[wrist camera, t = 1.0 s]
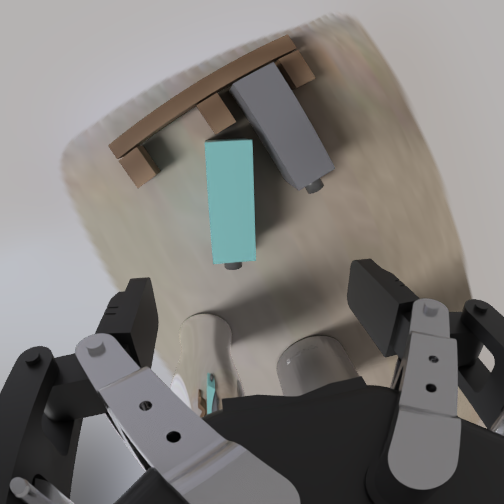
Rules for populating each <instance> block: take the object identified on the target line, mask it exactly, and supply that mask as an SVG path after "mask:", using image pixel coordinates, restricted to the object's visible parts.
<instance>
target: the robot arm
mask: <svg viewBox="0 0 504 504" xmlns="http://www.w3.org/2000/svg"><path fill="white" fill-rule="evenodd" d="M347 300H348V305H349V307H350V309H351V310H352V312H353V313H354V315H355V316H356V317H357V319H358V320H359V321H360V323H361V324H362V326H363V327H364V328H365V330H366V331H367V333H368V334H369V335H370V337H371V338H372V340H373V341H374V342H375V344H376V345H377V347H378V348H379V349H380V351H381V352H382V354H383V355H384V357H389V356H393V355H398V359H397V362H396V366H395V370H394V374H393V379H392V383H391V387H390V388H388V387H383V386H374V385H366V383H365V381H364V380H363V378H362V376H359V375H358V373H357V371H356V369H355V367H354V366H353V364H352V362H351V360H350V359H349V357H348V355H347V353H346V352H345V350H344V348H343V346H342V345H341V343H340V342H339V341H337V340H336V339H334V338H332V337H328V336H313V337H309V338H305V339H303V340H300V341H298V342H296V343H295V344H293V345H292V346H290V347H289V348H288V349H287V350H286V351H285V352H284V353H283V354H282V356H281V357H280V359H279V361H278V364H277V374H278V378H279V381H280V384H281V388H282V391H283V395H284V396H271V395H252V396H243V397H233V398H222V408H223V409H221V410H217V411H215V412H212V413H210V414H207V415H205V416H203V417H202V418H200V417H199V416H198V415H197V414H196V413H195V412H194V411H193V410H191V409H190V408H189V407H188V406H187V405H186V404H185V403H184V402H183V401H182V400H181V399H180V398H179V397H178V396H177V395H176V394H175V393H174V392H173V391H172V390H171V389H170V388H169V387H167V385H166V384H165V383H164V382H163V381H162V380H161V379H160V378H159V377H158V376H157V375H156V374H155V373H154V372H153V371H152V370H151V366H152V360H153V354H154V348H155V342H156V337H157V331H158V313H157V308H156V303H155V298H154V293H153V288H152V283H151V280H150V278H149V277H148V278H134V279H130V281H129V283H128V286H127V288H126V290H125V292H118V293H117V294H116V295H115V296H114V297H113V298H111V300H110V302H109V304H108V306H107V309H106V310H105V313H104V315H103V317H102V319H101V321H100V324H99V326H98V328H97V331H96V333H95V334H94V335H90V336H88V337H86V338H84V339H83V340H81V341H80V342H79V343H78V345H77V346H76V349H75V353H74V354H71V355H66V356H61V357H57V358H54V356H53V354H52V352H51V350H50V349H49V348H47V347H43V346H37V347H33V348H30V349H28V350H26V351H24V352H23V353H22V354H21V355H20V356H19V357H18V359H17V361H16V363H15V364H14V367H13V368H12V370H11V372H10V374H9V377H8V378H7V380H6V382H5V385H4V387H3V389H2V391H1V393H0V504H74V503H73V502H72V501H70V492H71V483H72V477H73V470H74V464H75V457H76V452H77V446H78V441H79V435H80V430H81V426H82V421H83V418H84V417H89V416H94V415H98V414H103V413H104V414H105V415H106V417H107V418H108V420H109V421H110V423H111V424H112V426H113V427H114V429H115V430H116V432H117V433H118V434H119V436H120V437H121V439H122V440H123V442H124V443H125V444H126V445H127V447H128V448H129V450H130V451H131V453H132V454H133V456H134V457H135V458H136V460H137V461H138V463H139V464H140V465H141V467H142V468H143V469H144V471H145V473H144V474H143V475H142V476H141V477H140V478H139V479H138V480H137V481H136V482H135V483H134V484H133V485H132V486H131V488H129V489H128V490H127V491H126V492H125V493H124V494H123V495H122V496H121V497H120V498H119V499H118V500H117V501H116V502H115V503H114V504H504V317H503V316H502V315H501V314H500V313H499V312H498V311H497V310H495V309H494V308H493V307H492V306H491V305H489V304H488V303H486V302H484V301H481V300H476V299H472V300H468V301H466V303H465V305H464V308H463V311H462V312H449V311H448V309H447V307H446V306H445V305H444V304H442V303H441V302H439V301H437V300H433V299H428V298H423V299H420V298H419V297H418V296H416V295H415V294H414V293H413V292H412V291H411V290H410V289H409V288H408V287H407V286H405V284H403V283H402V282H401V281H399V279H398V278H397V277H396V276H395V275H393V274H392V273H390V272H388V271H386V270H384V269H382V268H381V267H380V266H378V265H377V264H376V263H375V262H374V261H373V260H372V259H361V260H354V261H352V263H351V268H350V276H349V285H348V292H347ZM483 345H485V346H486V348H487V349H488V350H489V351H490V352H491V353H492V354H493V356H494V359H495V366H494V368H493V370H492V372H490V371H489V370H488V369H487V368H486V366H485V365H484V364H483V363H482V362H481V360H480V359H479V358H478V356H479V354H480V352H481V350H482V347H483ZM458 386H459V388H460V389H461V391H462V392H463V393H464V395H465V396H466V398H467V399H468V401H469V402H470V403H471V405H472V406H473V408H474V409H475V411H476V412H477V414H478V415H479V417H480V418H481V420H482V421H483V423H484V424H485V426H486V427H487V429H486V428H483V427H481V426H478V425H476V424H474V423H471V422H469V421H466V420H464V419H461V418H459V417H458V416H457V396H458Z"/></svg>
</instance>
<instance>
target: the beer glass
mask: <svg viewBox="0 0 504 504" xmlns="http://www.w3.org/2000/svg"><path fill="white" fill-rule="evenodd" d="M179 341H180V346H181V354H180V358H179V361H178V364H177V367H176V370H175V373H174V376H173V379H172V382H171V387H170V389H171V390H172V391H173V392H174V393H175V394H176V395H177V396H178V397H179V398H180V399H181V400H182V401H183V402H184V403H185V404H186V405H187V406H188V407H189V408H190V409H191V410H193V411H194V412H195V413H196V414H197V415H198V416H199V417H200V418H202V417H203V416H205V415H207V414H210V413H212V412H215V411H217V410H221V409H223V408H222V398H233V397H243V396H245V392H244V388H243V385H242V382H241V379H240V377H239V374H238V372H237V369H236V367H235V364H234V362H233V359H232V357H231V352H230V348H231V342H232V331H231V328H230V326H229V325H228V323H227V322H226V321H225V320H224V319H222V318H221V317H219V316H216V315H213V314H207V313H203V314H196V315H193V316H191V317H189V318H188V319H186V320H185V321H184V322H183V324H182V325H181V327H180V329H179Z"/></svg>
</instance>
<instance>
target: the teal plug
mask: <svg viewBox="0 0 504 504" xmlns="http://www.w3.org/2000/svg"><path fill="white" fill-rule="evenodd" d="M205 155H206V173H207V188H208V203H209V217H210V230H211V243H212V255H213V264H220V263H225V268H226V269H229V270H236V269H239V268H241V267H242V262H245V261H256V246H255V211H254V177H253V145H252V140H250V139H246V138H239V139H220V140H206V141H205Z"/></svg>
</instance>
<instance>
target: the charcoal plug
mask: <svg viewBox="0 0 504 504" xmlns="http://www.w3.org/2000/svg"><path fill="white" fill-rule="evenodd" d="M229 92H230V93H231V95H232V96H233V98H234V99H235V101H236V102H237V104H238V105H239V107H240V108H241V110H242V112H243V113H244V115H245V116H246V118H247V119H248V121H249V122H250V124H251V126H252V127H253V129H254V130H255V132H256V134H257V135H258V137H259V138H260V140H261V142H262V143H263V145H264V146H265V148H266V150H267V151H268V153H269V155H270V156H271V158H272V160H273V161H274V163H275V165H276V166H277V168H278V170H279V171H280V173H281V175H282V176H283V178H284V180H285V181H286V182H288V183H289V184H291V185H292V186H293V187H295V188H296V189H298V190H301V189H302V188H304V187H305V188H306V190H307V192H308V193H309V194H311V193H315V192H317V191H319V190H320V189H322V188H323V186H324V184H323V183H322V181H321V179H320V177H322V176H324V175H325V174H327V173H329V172H330V171H332V170H334V169H335V167H334V165H333V163H332V161H331V159H330V157H329V155H328V153H327V152H326V150H325V148H324V146H323V144H322V142H321V140H320V139H319V137H318V135H317V133H316V131H315V130H314V128H313V126H312V124H311V122H310V121H309V119H308V117H307V115H306V114H305V112H304V110H303V109H302V107H301V105H300V104H299V102H298V100H297V99H296V97H295V95H294V94H293V92H292V90H291V89H290V87H289V85H288V84H287V82H286V81H285V79H284V77H283V76H282V74H281V73H280V71H279V70H278V68H277V67H276V65H275V63H274V62H272V63H270V64H269V65H267V66H265V67H263V68H261V69H259V70H257V71H255V72H253V73H251V74H249V75H248V76H246V77H244V78H242V79H240V80H239V81H237V82H235V83H233V85H232V87H231V89H230V91H229Z"/></svg>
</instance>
